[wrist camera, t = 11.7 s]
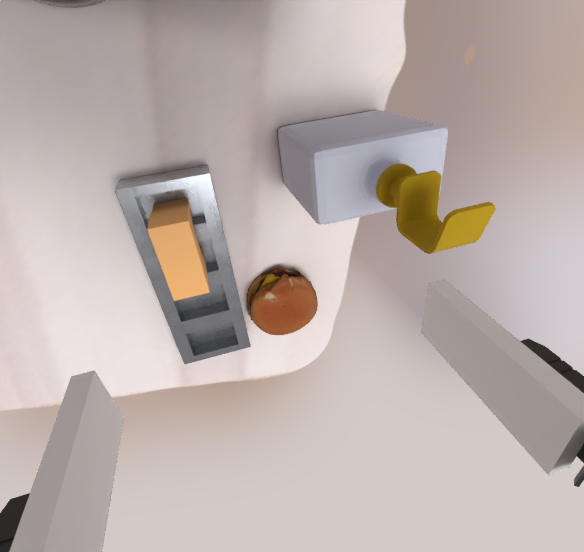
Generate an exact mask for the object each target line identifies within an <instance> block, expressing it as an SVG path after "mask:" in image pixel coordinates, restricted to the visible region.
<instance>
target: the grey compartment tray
mask: <svg viewBox="0 0 584 552" xmlns="http://www.w3.org/2000/svg"><path fill="white" fill-rule="evenodd" d="M115 193H116V195H117V197H118V200H119V202H120V205H121V207H122V210H123V212H124V215H125V217H126V220H127V222H128V225H129V227H130V230H131V232H132V235H133V237H134V240H135V242H136V245H137V247H138V250H139V252H140V255H141V257H142V260H143V262H144V265H145V267H146V270H147V272H148V275H149V277H150V280H151V282H152V285H153V287H154V290H155V292H156V295H157V297H158V300H159V302H160V305H161V307H162V310H163V312H164V314H165V317H166V319H167V322H168V324H169V327H170V329H171V332H172V334H173V337H174V339H175V342H176V344H177V347H178V349H179V352H180V354H181V357H182V359H183V362H184V364H188V363H192V362H195V361H199V360H203V359H206V358H210V357H214V356H218V355H221V354H225V353H229V352H232V351H236V350H240V349H244V348H247V347H251V346H250V342H249V338H248V333H247V329H246V325H245V321H244V317H243V312H242V308H241V304H240V300H239V295H238V291H237V287H236V283H235V279H234V274H233V270H232V266H231V262H230V257H229V253H228V249H227V245H226V241H225V236H224V232H223V228H222V224H221V219H220V215H219V211H218V207H217V202H216V198H215V194H214V190H213V186H212V181H211V177H210V173H209V169H208V165H204V166H198V167H192V168H187V169H181V170H175V171H169V172H164V173H158V174H152V175H147V176H141V177H135V178H129V179H124V180H120V181H119V183H118V185H117V187H116V189H115ZM185 198H188V200H189V204H190V207H191V211H192V221H193V225H194V229H195V232H196V236H197V239H198V243H199V246H200V247H202V249H203V252H204V256H205V260H206V269H207V275H208V283H209V291H210V293H206V294H201V295H197V296H193V297H189V298H185V299H181V300H176V301H174V300H173V297H172V294H171V292H170V289H169V286H168V284H167V281H166V278H165V276H164V273H163V270H162V268H161V265H160V262H159V260H158V257H157V254H156V252H155V249H154V246H153V244H152V241H151V238H150V236H149V233H148V230H147V227H148V223H149V218H150V213H152V209H153V205H154V204H159V203H164V202H169V201H175V200H180V199H185Z"/></svg>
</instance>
